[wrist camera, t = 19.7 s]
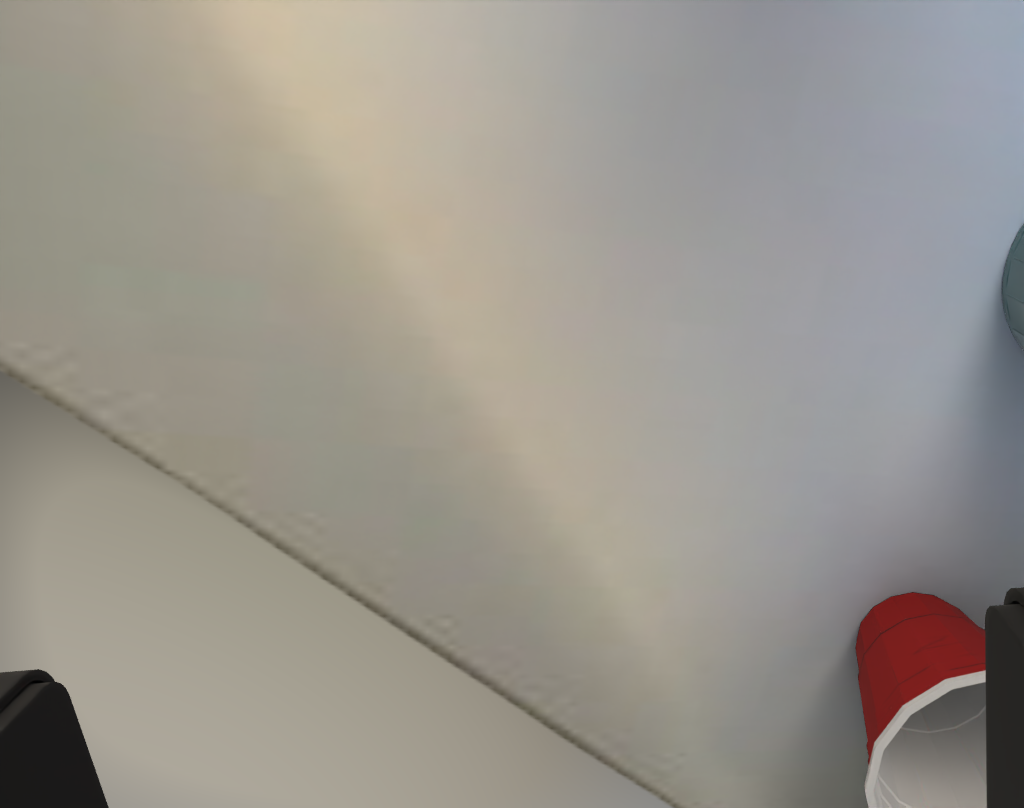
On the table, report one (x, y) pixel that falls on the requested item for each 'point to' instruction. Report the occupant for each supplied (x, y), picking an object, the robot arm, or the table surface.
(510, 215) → the table surface
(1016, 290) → the teal cylindrical holder
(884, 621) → the plastic cup
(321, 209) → the table surface
